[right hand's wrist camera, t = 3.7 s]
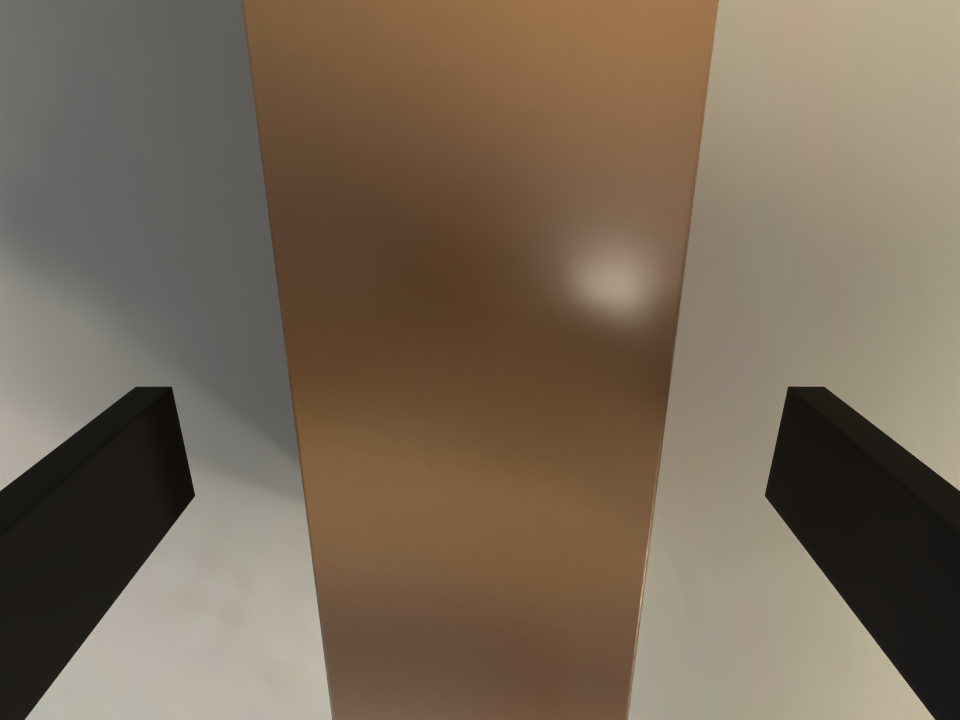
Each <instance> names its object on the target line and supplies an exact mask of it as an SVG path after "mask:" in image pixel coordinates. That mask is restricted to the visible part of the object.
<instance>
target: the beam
mask: <svg viewBox="0 0 960 720" xmlns="http://www.w3.org/2000/svg"><path fill="white" fill-rule="evenodd" d="M242 7H243V15H244V23H245V30H246V38H247V46H248V54H249V62H250V70H251V78H252V86H253V94H254V102H255V110H256V118H257V126H258V134H259V142H260V150H261V157H262V165H263V173H264V181H265V189H266V197H267V205H268V213H269V221H270V229H271V237H272V245H273V253H274V261H275V269H276V277H277V284H278V292H279V300H280V308H281V316H282V324H283V332H284V340H285V348H286V356H287V364H288V372H289V380H290V388H291V396H292V404H293V411H294V419H295V427H296V435H297V443H298V451H299V459H300V467H301V475H302V483H303V491H304V499H305V507H306V515H307V523H308V530H309V538H310V546H311V554H312V562H313V570H314V578H315V586H316V594H317V602H318V610H319V618H320V626H321V634H322V642H323V650H324V657H325V665H326V673H327V681H328V689H329V697H330V705H331V713H332V720H628V714H629V706H630V698H631V690H632V682H633V674H634V666H635V658H636V650H637V642H638V634H639V626H640V618H641V611H642V603H643V595H644V587H645V579H646V571H647V563H648V555H649V547H650V539H651V531H652V523H653V515H654V507H655V500H656V492H657V484H658V476H659V468H660V460H661V452H662V444H663V436H664V428H665V420H666V412H667V404H668V396H669V388H670V381H671V373H672V365H673V357H674V349H675V341H676V333H677V325H678V317H679V309H680V301H681V293H682V285H683V277H684V270H685V262H686V254H687V246H688V238H689V230H690V222H691V214H692V206H693V198H694V190H695V182H696V174H697V166H698V158H699V151H700V143H701V135H702V127H703V119H704V111H705V103H706V95H707V87H708V79H709V71H710V63H711V55H712V47H713V40H714V32H715V24H716V16H717V8H718V0H242Z"/></svg>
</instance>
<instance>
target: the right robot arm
mask: <svg viewBox="0 0 960 720" xmlns="http://www.w3.org/2000/svg"><path fill="white" fill-rule="evenodd" d="M194 497H195V493H194V488H193V484H192V479H191V474H190V470H189V465H188V460H187V456H186V451H185V446H184V442H183V437H182V432H181V428H180V423H179V418H178V413H177V409H176V404H175V399H174V395H173V390H172V387H135V388H134V389H132V390H131V391H130V392H128V393H127V394H126V395H124V396H123V397H122V398H121V399H119V400H118V401H117V402H115V403H114V404H113V405H112V406H110V407H109V408H108V409H106V410H105V411H104V412H102V413H101V414H100V415H99V416H97V417H96V418H95V419H93V420H92V421H91V422H89V423H88V424H87V425H86V426H84V427H83V428H82V429H80V430H79V431H78V432H76V433H75V434H74V435H73V436H71V437H70V438H69V439H67V440H66V441H65V442H64V443H62V444H61V445H60V446H58V447H57V448H56V449H54V450H53V451H52V452H51V453H49V454H48V455H47V456H45V457H44V458H43V459H41V460H40V461H39V462H38V463H36V464H35V465H34V466H32V467H31V468H30V469H28V470H27V471H26V472H25V473H23V474H22V475H21V476H19V477H18V478H17V479H16V480H14V481H13V482H12V483H10V484H9V485H8V486H6V487H5V488H4V489H3V490H1V491H0V720H25V719H26V717H27V716H28V715H29V713H30V712H31V711H32V709H33V708H34V707H35V705H36V704H37V703H38V701H39V700H40V699H41V698H42V696H43V695H44V694H45V692H46V691H47V690H48V688H49V687H50V686H51V684H52V683H53V682H54V680H55V679H56V678H57V677H58V675H59V674H60V673H61V671H62V670H63V669H64V667H65V666H66V665H67V663H68V662H69V661H70V659H71V658H72V657H73V655H74V654H75V653H76V652H77V650H78V649H79V648H80V646H81V645H82V644H83V642H84V641H85V640H86V638H87V637H88V636H89V634H90V633H91V632H92V631H93V629H94V628H95V627H96V625H97V624H98V623H99V621H100V620H101V619H102V617H103V616H104V615H105V613H106V612H107V611H108V610H109V608H110V607H111V606H112V604H113V603H114V602H115V600H116V599H117V598H118V596H119V595H120V594H121V592H122V591H123V590H124V588H125V587H126V586H127V585H128V583H129V582H130V581H131V579H132V578H133V577H134V575H135V574H136V573H137V571H138V570H139V569H140V567H141V566H142V565H143V564H144V562H145V561H146V560H147V558H148V557H149V556H150V554H151V553H152V552H153V550H154V549H155V548H156V546H157V545H158V544H159V543H160V541H161V540H162V539H163V537H164V536H165V535H166V533H167V532H168V531H169V529H170V528H171V527H172V525H173V524H174V523H175V522H176V520H177V519H178V518H179V516H180V515H181V514H182V512H183V511H184V510H185V508H186V507H187V506H188V504H189V503H190V502H191V500H192V499H193V498H194ZM765 497H766V498H767V499H768V500H769V502H770V503H771V504H772V506H773V507H774V508H775V510H776V511H777V512H778V514H779V515H780V516H781V518H782V519H783V520H784V522H785V523H786V524H787V525H788V527H789V528H790V529H791V531H792V532H793V533H794V535H795V536H796V537H797V539H798V540H799V541H800V543H801V544H802V545H803V546H804V548H805V549H806V550H807V552H808V553H809V554H810V556H811V557H812V558H813V560H814V561H815V562H816V564H817V565H818V566H819V567H820V569H821V570H822V571H823V573H824V574H825V575H826V577H827V578H828V579H829V581H830V582H831V583H832V585H833V586H834V587H835V589H836V590H837V591H838V592H839V594H840V595H841V596H842V598H843V599H844V600H845V602H846V603H847V604H848V606H849V607H850V608H851V610H852V611H853V612H854V613H855V615H856V616H857V617H858V619H859V620H860V621H861V623H862V624H863V625H864V627H865V628H866V629H867V631H868V632H869V633H870V634H871V636H872V637H873V638H874V640H875V641H876V642H877V644H878V645H879V646H880V648H881V649H882V650H883V652H884V653H885V654H886V655H887V657H888V658H889V659H890V661H891V662H892V663H893V665H894V666H895V667H896V669H897V670H898V671H899V673H900V674H901V675H902V677H903V678H904V679H905V680H906V682H907V683H908V684H909V686H910V687H911V688H912V690H913V691H914V692H915V694H916V695H917V696H918V698H919V699H920V700H921V701H922V703H923V704H924V705H925V707H926V708H927V709H928V711H929V712H930V713H931V715H932V716H933V717H934V719H935V720H960V491H959V490H957V489H956V488H955V487H954V486H952V485H951V484H950V483H948V482H947V481H946V480H944V479H943V478H942V477H941V476H939V475H938V474H937V473H935V472H934V471H933V470H932V469H930V468H929V467H928V466H926V465H925V464H924V463H922V462H921V461H920V460H919V459H917V458H916V457H915V456H913V455H912V454H911V453H909V452H908V451H907V450H906V449H904V448H903V447H902V446H900V445H899V444H898V443H896V442H895V441H894V440H893V439H891V438H890V437H889V436H887V435H886V434H885V433H884V432H882V431H881V430H880V429H878V428H877V427H876V426H874V425H873V424H872V423H871V422H869V421H868V420H867V419H865V418H864V417H863V416H861V415H860V414H859V413H858V412H856V411H855V410H854V409H852V408H851V407H850V406H848V405H847V404H846V403H845V402H843V401H842V400H841V399H839V398H838V397H837V396H836V395H834V394H833V393H832V392H830V391H829V390H828V389H826V388H825V387H788V390H787V395H786V399H785V404H784V409H783V413H782V418H781V423H780V428H779V432H778V437H777V442H776V446H775V451H774V456H773V460H772V465H771V470H770V474H769V479H768V484H767V488H766V493H765Z"/></svg>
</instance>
